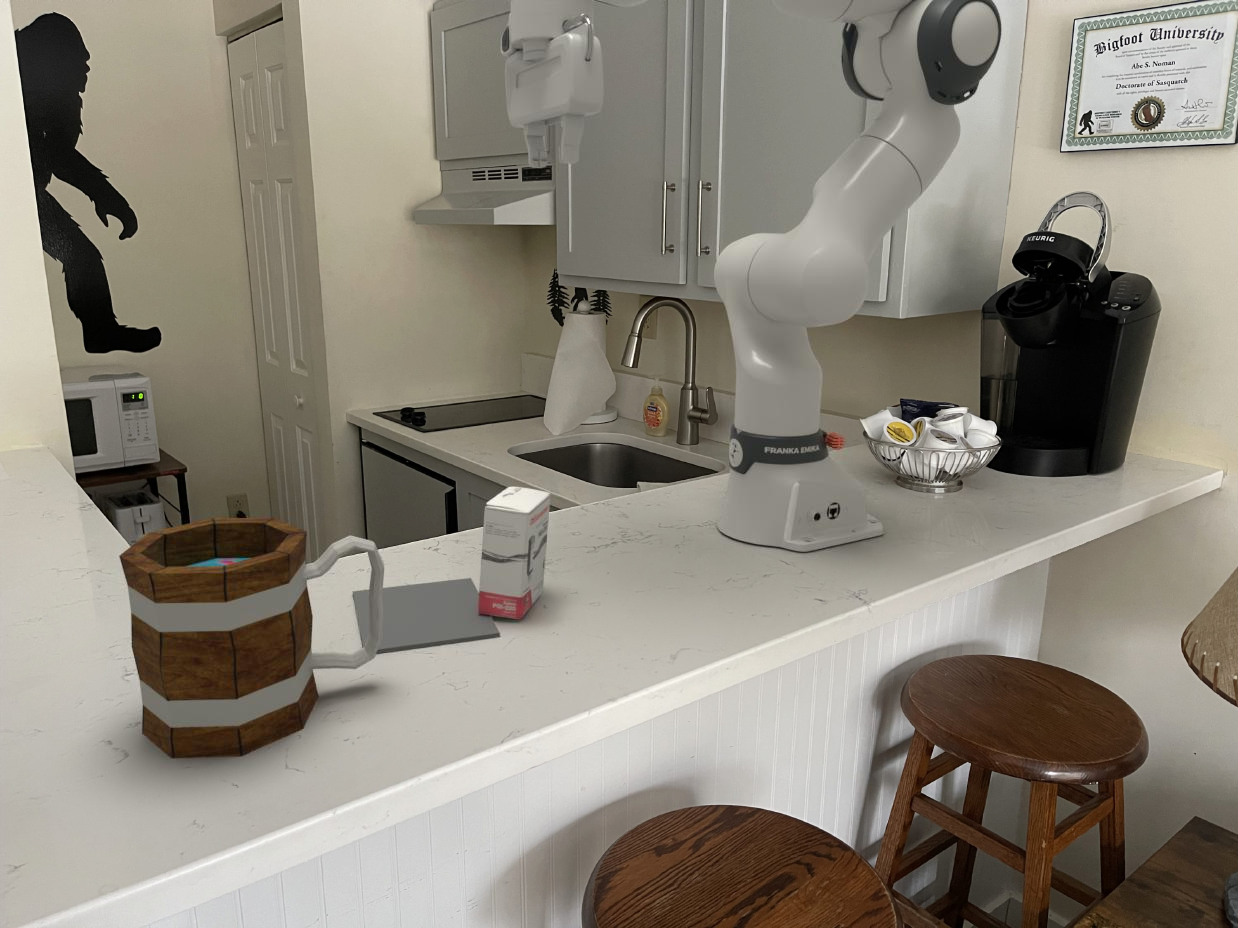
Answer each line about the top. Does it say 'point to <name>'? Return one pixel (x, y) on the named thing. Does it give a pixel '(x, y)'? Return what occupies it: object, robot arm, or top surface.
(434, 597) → the mat
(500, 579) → the ink box
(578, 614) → the top surface
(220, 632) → the mug
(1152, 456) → the top surface
